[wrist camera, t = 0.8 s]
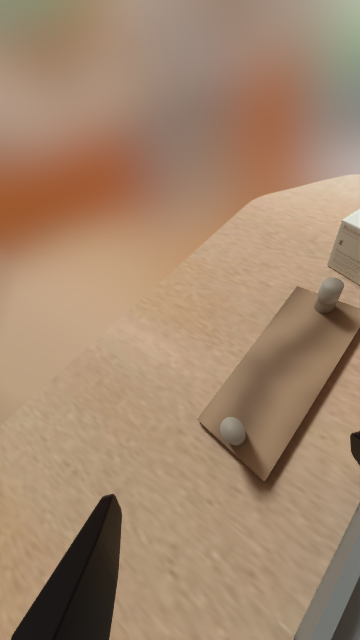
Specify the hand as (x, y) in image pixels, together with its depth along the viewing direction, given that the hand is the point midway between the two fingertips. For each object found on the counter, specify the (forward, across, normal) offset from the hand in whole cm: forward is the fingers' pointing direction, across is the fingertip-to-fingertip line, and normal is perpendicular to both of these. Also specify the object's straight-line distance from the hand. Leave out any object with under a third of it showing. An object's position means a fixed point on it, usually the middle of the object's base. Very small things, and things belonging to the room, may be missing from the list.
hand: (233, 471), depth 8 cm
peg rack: (+16, -9, +7) cm, 19 cm away
